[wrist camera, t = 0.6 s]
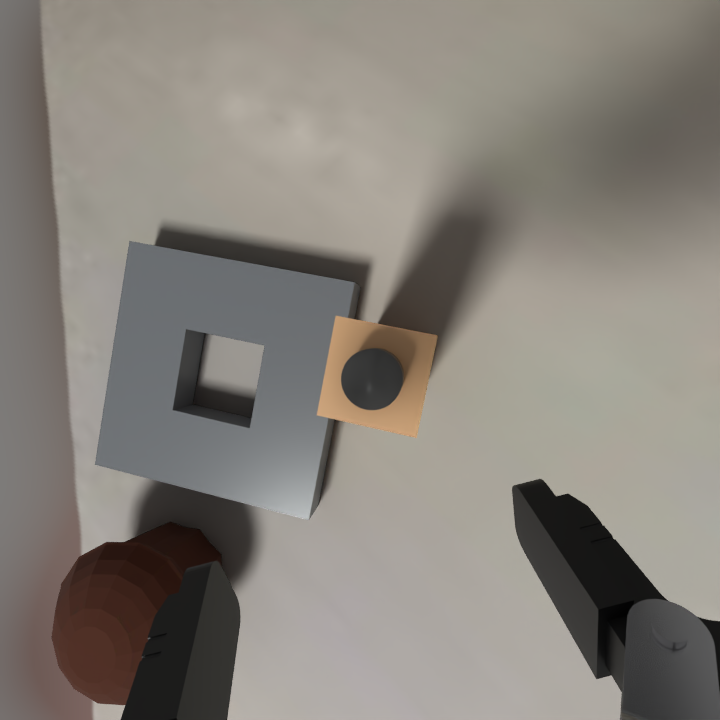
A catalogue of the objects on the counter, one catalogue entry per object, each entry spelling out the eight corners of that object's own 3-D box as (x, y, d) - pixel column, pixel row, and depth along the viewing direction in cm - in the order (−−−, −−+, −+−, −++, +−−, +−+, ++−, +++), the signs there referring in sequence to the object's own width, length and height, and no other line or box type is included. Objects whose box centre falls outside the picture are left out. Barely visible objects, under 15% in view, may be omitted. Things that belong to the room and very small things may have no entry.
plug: (376, 326, 35) (327, 313, 17) (431, 337, 34) (439, 334, 17) (365, 381, 35) (306, 422, 18) (420, 392, 34) (415, 447, 17)
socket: (153, 249, 37) (129, 241, 34) (360, 287, 35) (354, 282, 32) (120, 454, 38) (95, 464, 35) (318, 505, 36) (308, 520, 33)
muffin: (129, 492, 38) (27, 546, 29) (248, 523, 37) (184, 590, 27) (110, 620, 39) (5, 714, 29) (226, 654, 38) (156, 766, 28)
